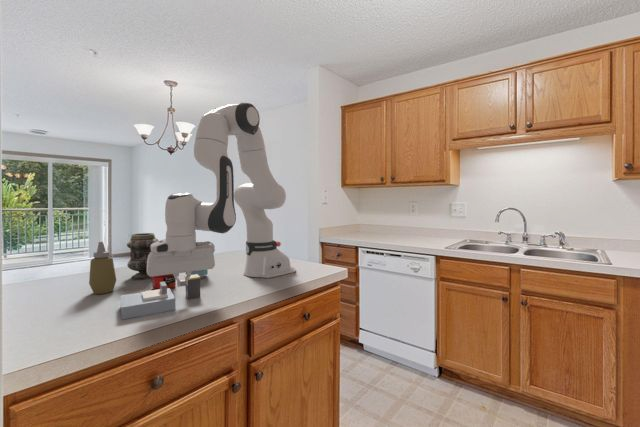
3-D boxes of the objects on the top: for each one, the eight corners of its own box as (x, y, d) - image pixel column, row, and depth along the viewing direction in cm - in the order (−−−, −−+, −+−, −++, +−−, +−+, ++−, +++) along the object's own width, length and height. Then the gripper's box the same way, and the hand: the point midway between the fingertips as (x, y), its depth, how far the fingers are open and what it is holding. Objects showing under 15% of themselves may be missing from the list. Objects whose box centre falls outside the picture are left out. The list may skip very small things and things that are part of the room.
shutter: (164, 290, 105) (164, 280, 105) (167, 296, 99) (167, 286, 99) (141, 294, 102) (141, 283, 102) (143, 301, 96) (143, 289, 96)
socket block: (169, 298, 109) (169, 288, 108) (175, 309, 99) (175, 298, 98) (121, 306, 101) (120, 295, 101) (121, 319, 91) (121, 307, 91)
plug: (198, 293, 114) (197, 274, 113) (200, 297, 110) (200, 276, 110) (185, 295, 111) (184, 275, 111) (187, 299, 108) (187, 278, 107)
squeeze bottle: (84, 296, 111) (81, 244, 109) (97, 288, 119) (94, 240, 117) (110, 295, 112) (107, 243, 111) (120, 287, 120) (118, 239, 119)
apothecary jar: (162, 271, 143) (160, 231, 142) (159, 278, 132) (157, 235, 130) (131, 274, 139) (129, 232, 138) (125, 281, 128) (122, 236, 126)
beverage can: (210, 275, 137) (209, 247, 137) (202, 279, 131) (201, 250, 130) (195, 274, 139) (194, 246, 138) (186, 278, 132) (185, 249, 131)
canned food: (167, 291, 116) (165, 261, 115) (147, 290, 117) (146, 260, 117) (180, 285, 123) (179, 256, 123) (161, 283, 125) (160, 255, 124)
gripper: (211, 239, 112) (212, 278, 113) (145, 245, 101) (146, 288, 102) (216, 242, 107) (217, 283, 108) (146, 248, 96) (148, 293, 97)
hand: (182, 285), depth 105 cm, fingers closed
